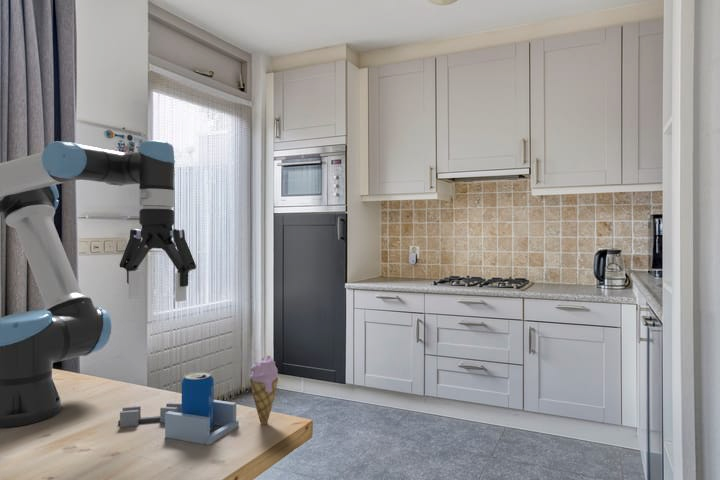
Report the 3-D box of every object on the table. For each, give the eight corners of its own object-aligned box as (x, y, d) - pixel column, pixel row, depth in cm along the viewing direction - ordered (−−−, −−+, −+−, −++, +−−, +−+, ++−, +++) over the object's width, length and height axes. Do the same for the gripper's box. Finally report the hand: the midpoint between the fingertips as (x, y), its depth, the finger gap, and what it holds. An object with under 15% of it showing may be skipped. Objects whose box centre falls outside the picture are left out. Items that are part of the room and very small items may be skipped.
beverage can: (203, 438, 101) (203, 380, 101) (175, 435, 102) (175, 378, 102) (218, 426, 107) (219, 371, 107) (192, 423, 109) (192, 369, 108)
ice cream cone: (285, 424, 108) (285, 356, 108) (261, 432, 104) (261, 362, 104) (266, 416, 113) (267, 351, 113) (243, 424, 108) (243, 356, 108)
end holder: (165, 437, 101) (165, 413, 101) (197, 419, 111) (197, 397, 111) (208, 445, 98) (208, 420, 98) (238, 425, 107) (238, 403, 107)
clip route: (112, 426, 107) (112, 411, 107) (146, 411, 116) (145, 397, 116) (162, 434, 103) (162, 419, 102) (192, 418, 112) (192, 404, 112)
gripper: (102, 208, 115) (103, 298, 115) (190, 206, 106) (190, 304, 107) (128, 209, 122) (128, 295, 122) (211, 208, 114) (211, 300, 114)
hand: (157, 299), depth 115 cm, fingers open, 13 cm apart
